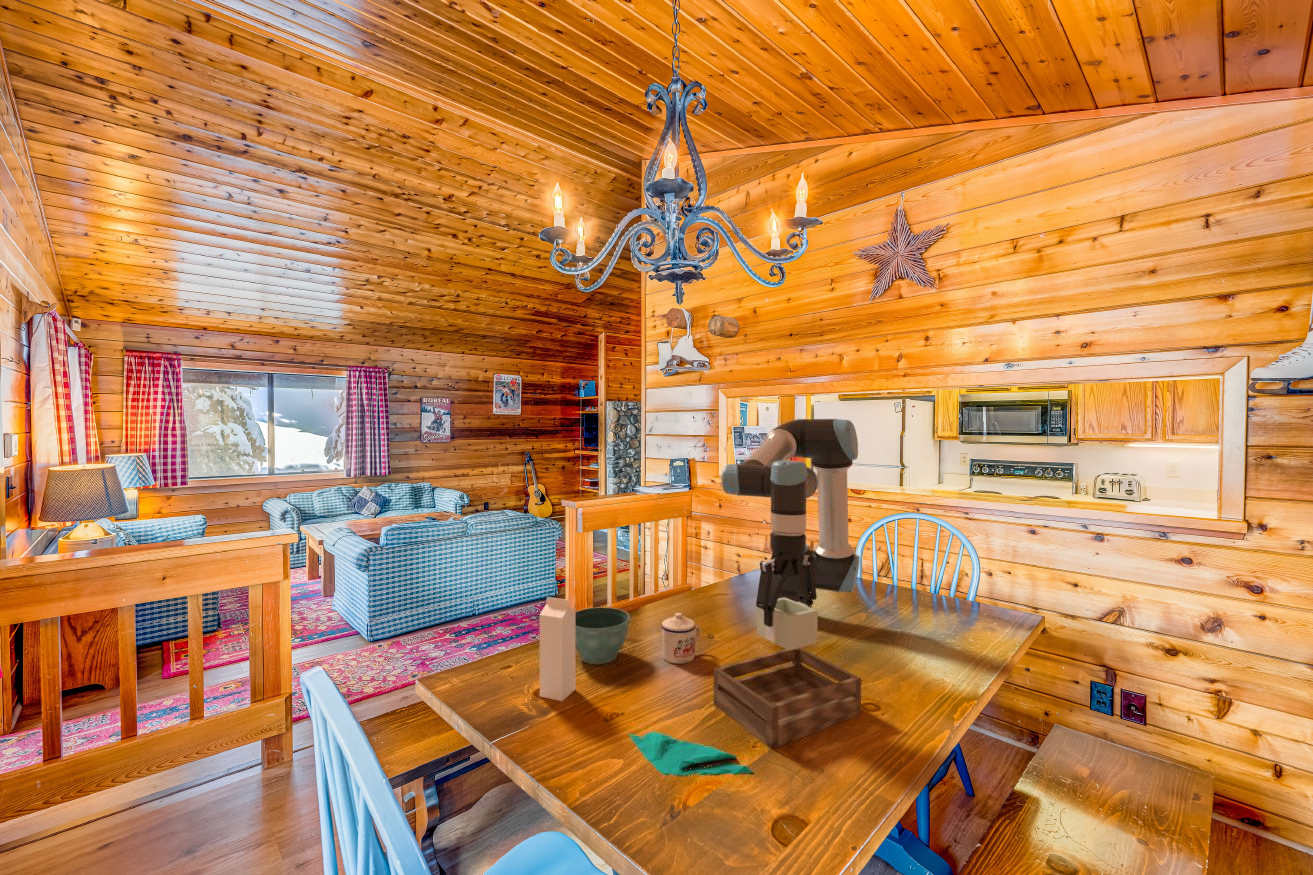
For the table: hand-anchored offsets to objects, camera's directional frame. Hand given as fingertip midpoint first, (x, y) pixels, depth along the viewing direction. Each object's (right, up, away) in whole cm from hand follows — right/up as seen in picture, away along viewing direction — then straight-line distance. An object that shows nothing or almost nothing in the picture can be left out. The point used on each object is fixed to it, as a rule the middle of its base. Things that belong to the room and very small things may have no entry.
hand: (786, 636), depth 118 cm
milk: (-51, -16, +7) cm, 54 cm away
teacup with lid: (-21, -16, +28) cm, 38 cm away
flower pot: (-44, -15, +26) cm, 53 cm away
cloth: (-23, -17, -16) cm, 33 cm away
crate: (0, -16, 0) cm, 16 cm away
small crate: (0, 0, 0) cm, 0 cm away
